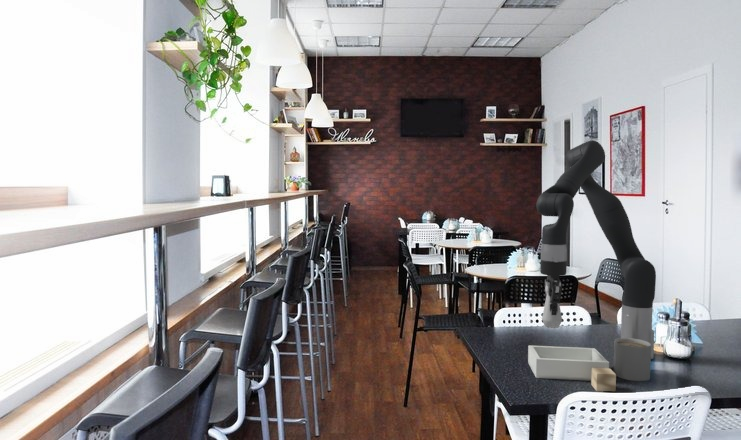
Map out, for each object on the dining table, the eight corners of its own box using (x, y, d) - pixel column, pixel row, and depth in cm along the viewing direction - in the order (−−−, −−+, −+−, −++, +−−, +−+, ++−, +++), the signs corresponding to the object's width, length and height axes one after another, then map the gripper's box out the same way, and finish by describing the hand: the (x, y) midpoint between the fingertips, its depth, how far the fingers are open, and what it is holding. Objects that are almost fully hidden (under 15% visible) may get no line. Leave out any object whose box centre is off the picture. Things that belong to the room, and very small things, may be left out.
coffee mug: (641, 383, 152) (642, 349, 151) (607, 374, 159) (608, 341, 159) (660, 373, 160) (661, 341, 160) (627, 365, 168) (628, 334, 167)
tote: (594, 365, 167) (594, 348, 167) (608, 381, 153) (609, 362, 153) (528, 362, 170) (528, 345, 170) (536, 377, 156) (536, 359, 155)
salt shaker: (560, 324, 164) (561, 283, 163) (563, 329, 158) (564, 286, 158) (540, 323, 165) (541, 282, 164) (542, 328, 159) (543, 285, 159)
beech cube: (609, 385, 150) (610, 368, 150) (615, 392, 145) (616, 374, 145) (591, 384, 150) (591, 367, 150) (596, 391, 145) (596, 373, 145)
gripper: (536, 255, 168) (535, 309, 169) (545, 261, 154) (543, 319, 155) (561, 256, 167) (559, 310, 168) (572, 262, 153) (570, 320, 154)
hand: (552, 314), depth 161 cm, fingers closed on salt shaker, 3 cm apart
